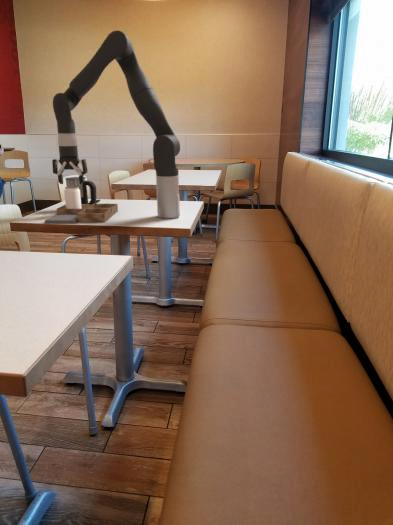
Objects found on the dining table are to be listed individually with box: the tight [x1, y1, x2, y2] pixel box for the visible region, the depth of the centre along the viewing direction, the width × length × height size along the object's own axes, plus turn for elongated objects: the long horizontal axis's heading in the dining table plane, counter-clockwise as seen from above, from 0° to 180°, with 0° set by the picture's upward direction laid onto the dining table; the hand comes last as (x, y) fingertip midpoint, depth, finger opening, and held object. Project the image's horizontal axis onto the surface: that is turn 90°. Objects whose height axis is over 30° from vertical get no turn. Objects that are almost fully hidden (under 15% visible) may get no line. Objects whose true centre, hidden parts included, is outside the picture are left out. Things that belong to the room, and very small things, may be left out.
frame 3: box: [87, 203, 119, 217], centre depth 180 cm, size 11×11×4 cm
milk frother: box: [64, 176, 101, 205], centre depth 191 cm, size 14×16×15 cm
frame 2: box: [76, 208, 113, 223], centre depth 169 cm, size 11×11×4 cm
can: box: [64, 186, 82, 209], centre depth 177 cm, size 6×6×12 cm
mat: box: [44, 213, 78, 224], centre depth 168 cm, size 12×12×1 cm
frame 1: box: [56, 203, 90, 215], centre depth 179 cm, size 11×11×4 cm
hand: (71, 184), depth 175 cm, fingers open, 8 cm apart
